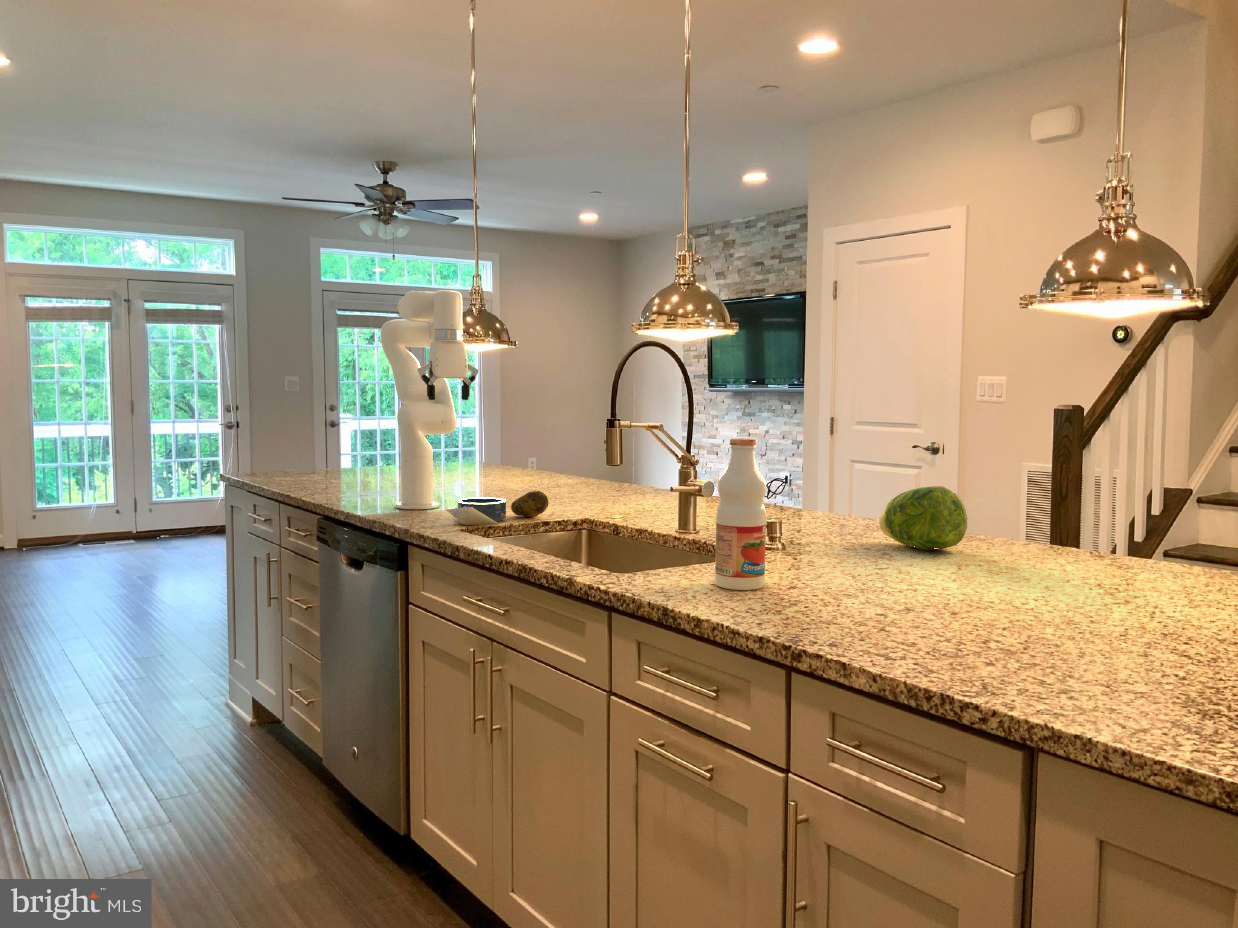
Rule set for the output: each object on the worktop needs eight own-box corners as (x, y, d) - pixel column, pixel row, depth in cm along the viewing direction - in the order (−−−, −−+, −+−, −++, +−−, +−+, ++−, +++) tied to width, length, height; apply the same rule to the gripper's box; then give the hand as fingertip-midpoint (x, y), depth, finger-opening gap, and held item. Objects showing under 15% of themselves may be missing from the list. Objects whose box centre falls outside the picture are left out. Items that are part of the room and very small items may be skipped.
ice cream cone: (497, 533, 248) (446, 519, 252) (502, 515, 249) (452, 501, 252) (491, 532, 243) (440, 517, 247) (496, 513, 244) (445, 499, 247)
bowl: (450, 518, 259) (450, 499, 259) (493, 515, 266) (493, 496, 266) (469, 525, 248) (469, 504, 248) (513, 521, 255) (513, 501, 255)
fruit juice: (725, 578, 183) (729, 437, 181) (771, 583, 179) (775, 438, 176) (706, 587, 175) (710, 439, 172) (754, 593, 170) (758, 441, 168)
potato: (535, 514, 271) (535, 486, 270) (552, 520, 259) (552, 491, 258) (508, 515, 267) (508, 488, 266) (524, 521, 255) (524, 493, 255)
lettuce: (914, 550, 233) (894, 492, 234) (988, 534, 217) (966, 472, 218) (876, 566, 223) (856, 506, 224) (950, 551, 207) (928, 486, 208)
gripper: (472, 338, 260) (472, 399, 261) (412, 336, 250) (413, 399, 252) (483, 337, 253) (483, 400, 255) (422, 335, 244) (423, 400, 246)
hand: (448, 399), depth 253 cm, fingers open, 9 cm apart
